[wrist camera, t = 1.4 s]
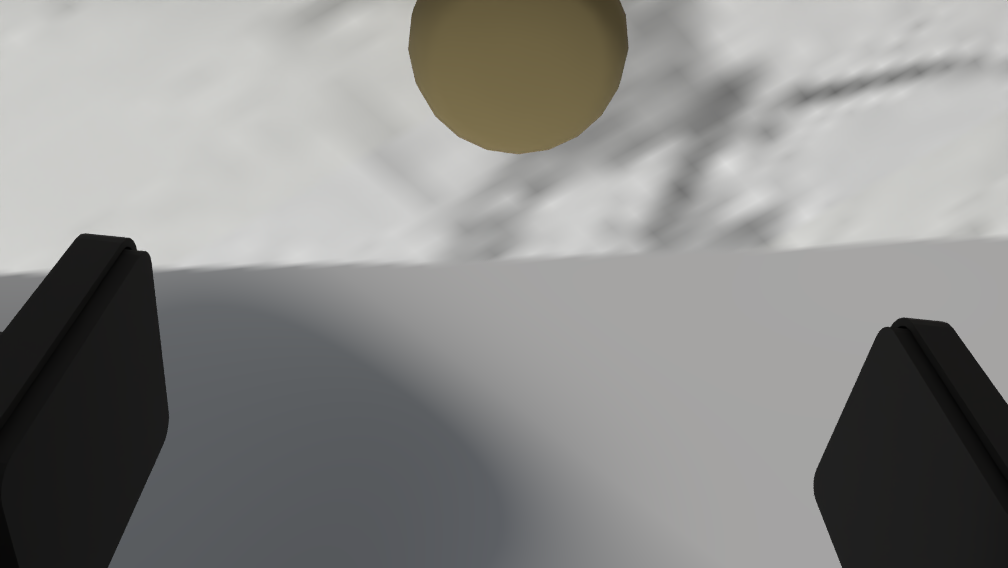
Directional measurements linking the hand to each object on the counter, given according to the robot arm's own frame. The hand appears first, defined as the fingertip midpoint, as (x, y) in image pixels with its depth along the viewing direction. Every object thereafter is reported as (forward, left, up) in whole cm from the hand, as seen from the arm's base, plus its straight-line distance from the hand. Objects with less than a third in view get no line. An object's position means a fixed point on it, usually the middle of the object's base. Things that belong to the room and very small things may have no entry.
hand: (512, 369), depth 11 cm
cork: (0, 0, -21) cm, 21 cm away
